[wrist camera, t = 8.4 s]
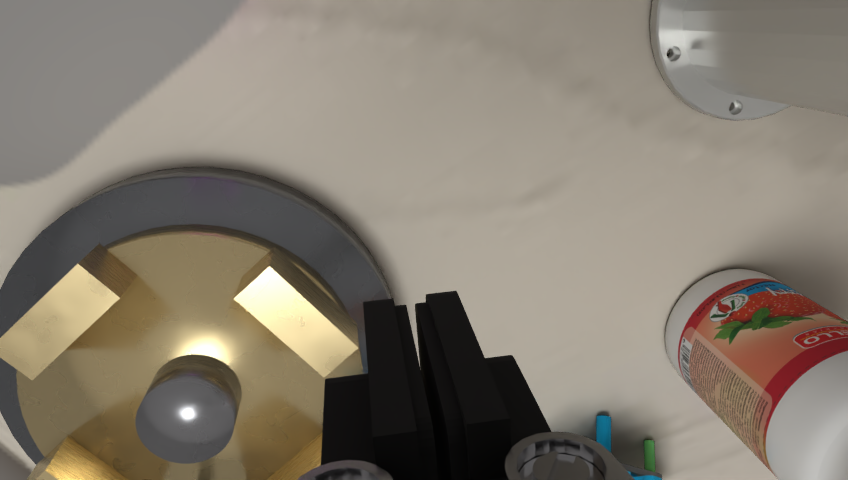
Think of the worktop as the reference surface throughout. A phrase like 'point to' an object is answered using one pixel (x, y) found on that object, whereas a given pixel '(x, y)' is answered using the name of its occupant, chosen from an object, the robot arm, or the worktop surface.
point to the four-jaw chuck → (181, 360)
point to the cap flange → (178, 205)
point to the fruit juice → (767, 369)
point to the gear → (647, 476)
